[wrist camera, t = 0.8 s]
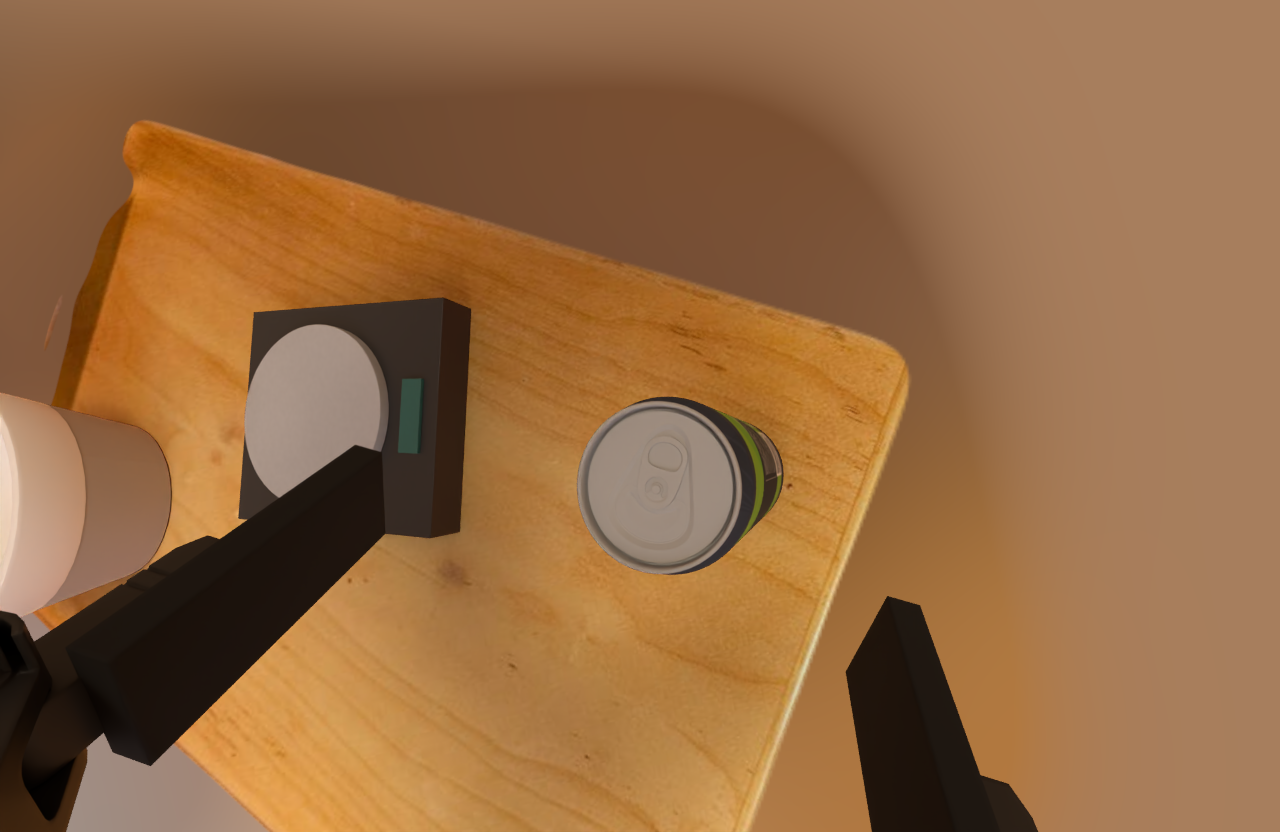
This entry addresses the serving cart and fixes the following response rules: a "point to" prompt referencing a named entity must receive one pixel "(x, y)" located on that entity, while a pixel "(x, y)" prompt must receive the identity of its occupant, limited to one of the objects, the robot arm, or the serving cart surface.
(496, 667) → the serving cart surface
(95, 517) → the bowl
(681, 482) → the beverage can
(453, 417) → the scale
